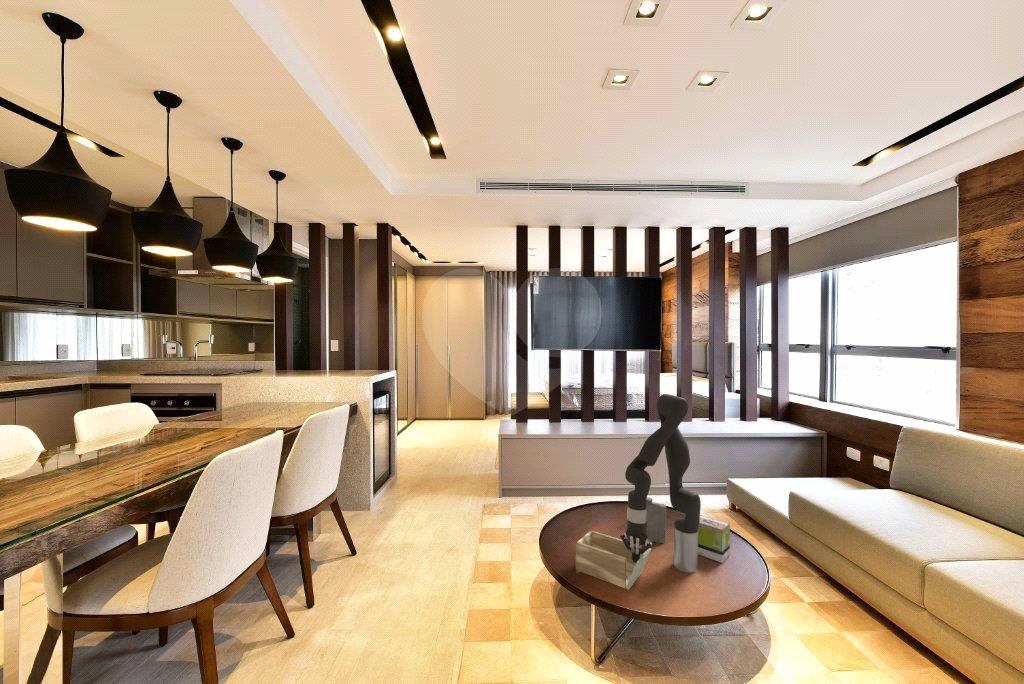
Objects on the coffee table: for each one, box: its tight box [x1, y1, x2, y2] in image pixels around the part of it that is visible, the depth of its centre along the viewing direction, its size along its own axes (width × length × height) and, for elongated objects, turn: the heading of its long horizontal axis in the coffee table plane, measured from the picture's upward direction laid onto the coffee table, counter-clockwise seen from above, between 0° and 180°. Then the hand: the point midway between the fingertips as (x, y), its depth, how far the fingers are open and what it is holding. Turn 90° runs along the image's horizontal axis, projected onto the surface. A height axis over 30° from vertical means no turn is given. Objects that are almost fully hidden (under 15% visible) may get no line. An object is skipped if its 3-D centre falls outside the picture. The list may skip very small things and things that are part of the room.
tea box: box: [698, 514, 731, 564], centre depth 187 cm, size 15×10×15 cm, turn 44°
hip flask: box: [646, 496, 667, 544], centre depth 200 cm, size 16×4×20 cm, turn 78°
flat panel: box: [625, 547, 652, 591], centre depth 163 cm, size 14×1×12 cm, turn 144°
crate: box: [575, 529, 636, 589], centre depth 171 cm, size 14×21×12 cm, turn 54°
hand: (635, 561), depth 164 cm, fingers closed
